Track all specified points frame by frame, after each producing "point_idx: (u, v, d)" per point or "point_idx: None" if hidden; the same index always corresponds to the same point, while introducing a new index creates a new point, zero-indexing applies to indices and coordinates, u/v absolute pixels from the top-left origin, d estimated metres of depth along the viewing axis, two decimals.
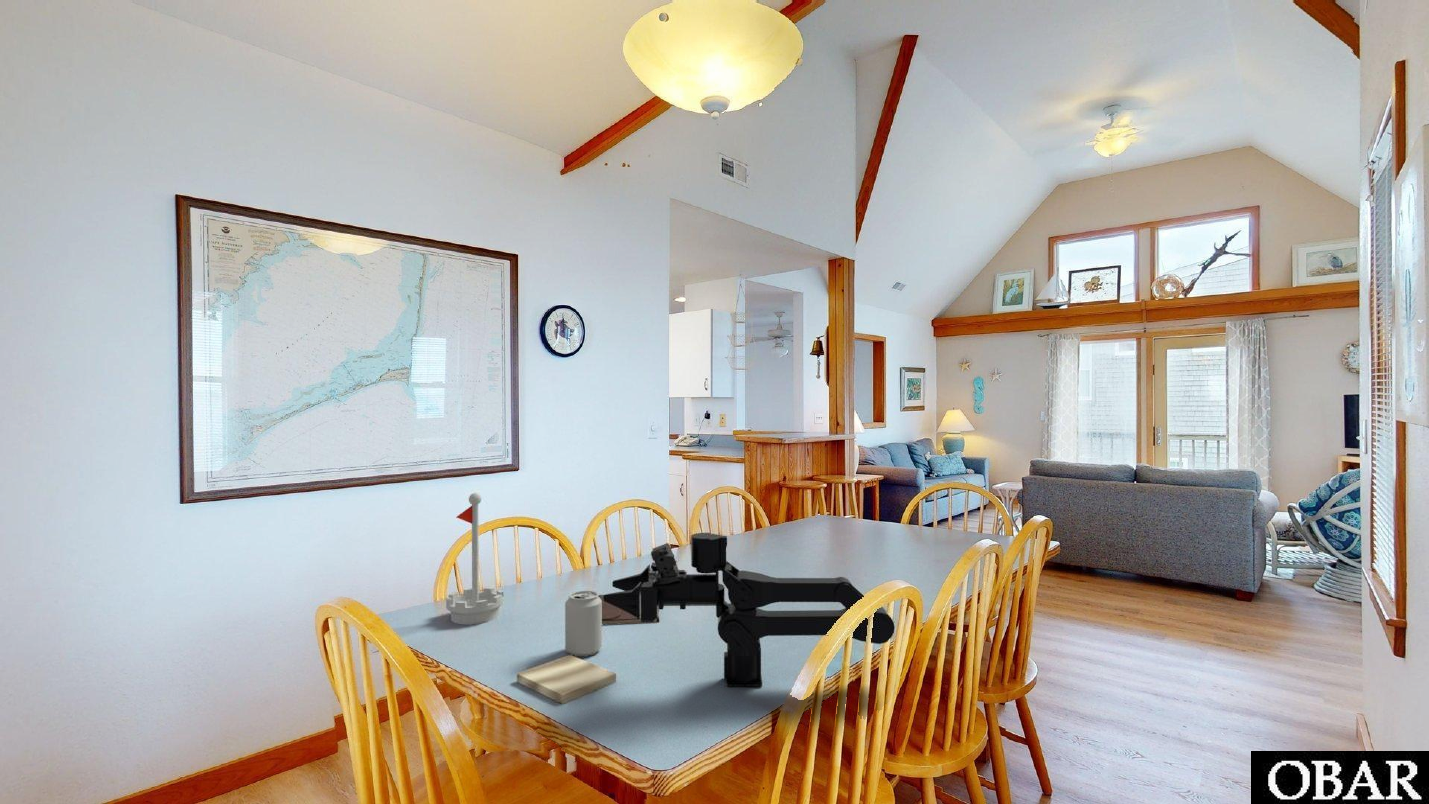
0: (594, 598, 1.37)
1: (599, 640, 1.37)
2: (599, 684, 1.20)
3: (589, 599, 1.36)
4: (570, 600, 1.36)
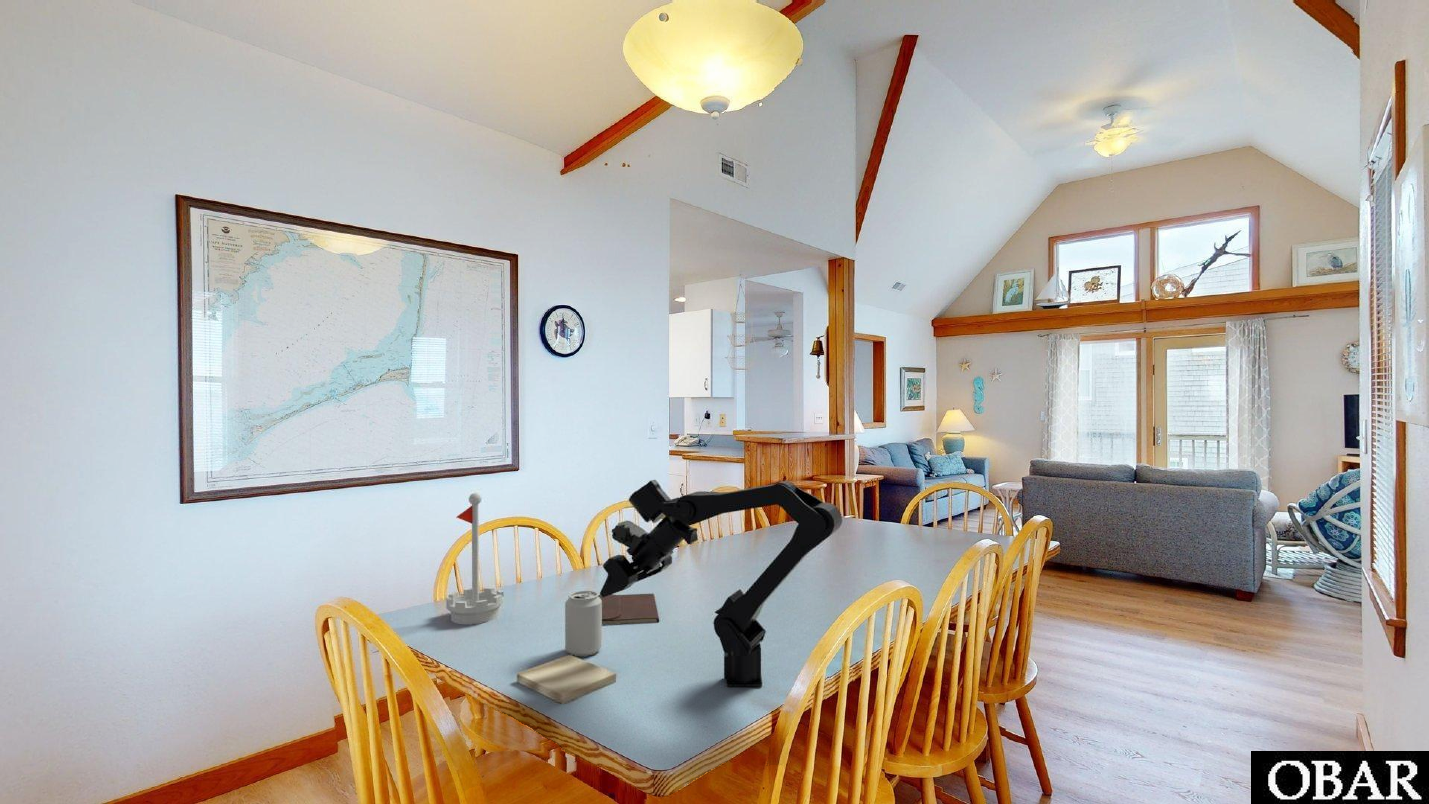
0: (594, 598, 1.37)
1: (599, 640, 1.37)
2: (599, 684, 1.20)
3: (589, 599, 1.36)
4: (570, 600, 1.36)
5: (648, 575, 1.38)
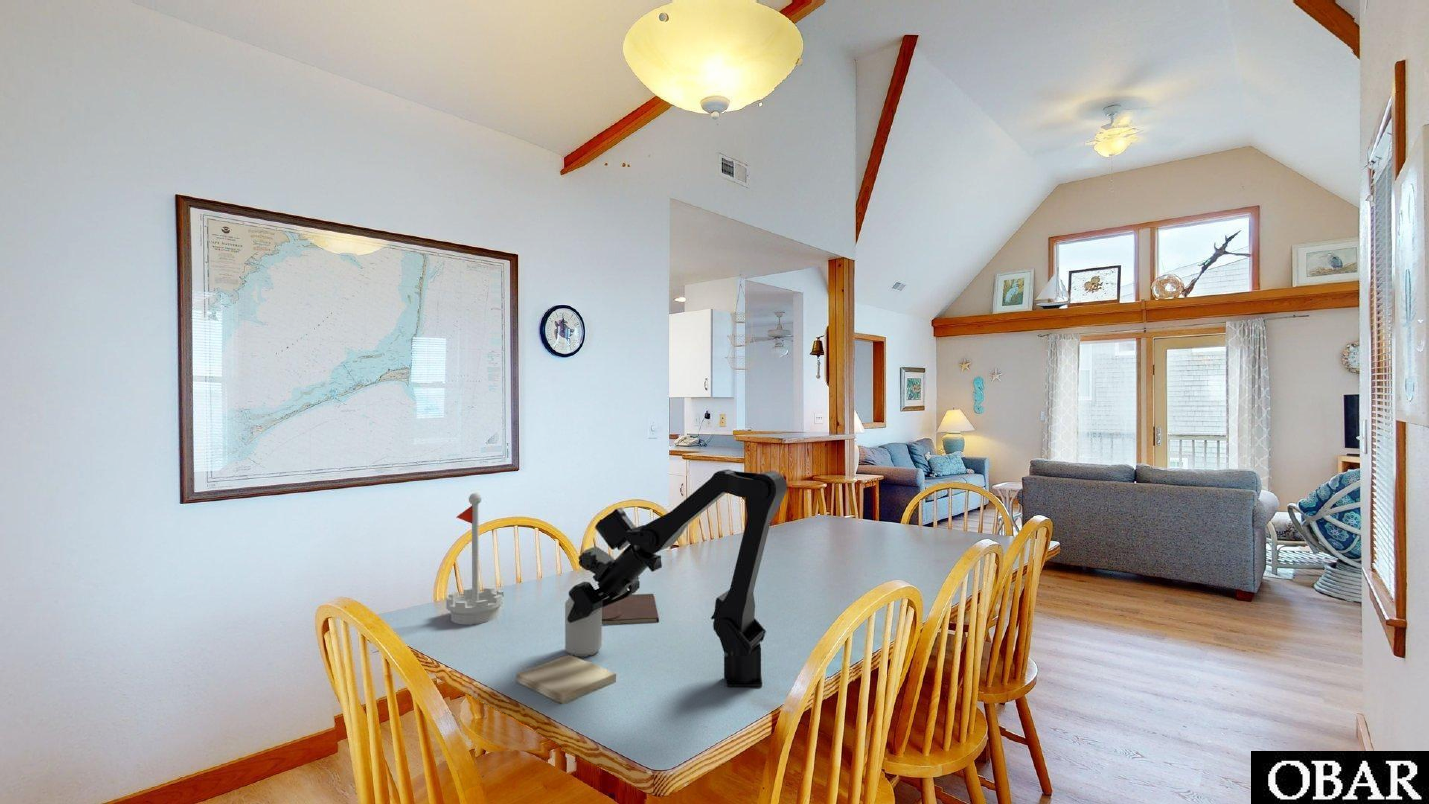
0: None
1: (599, 640, 1.37)
2: (599, 684, 1.20)
3: None
4: (570, 600, 1.36)
5: (616, 600, 1.41)
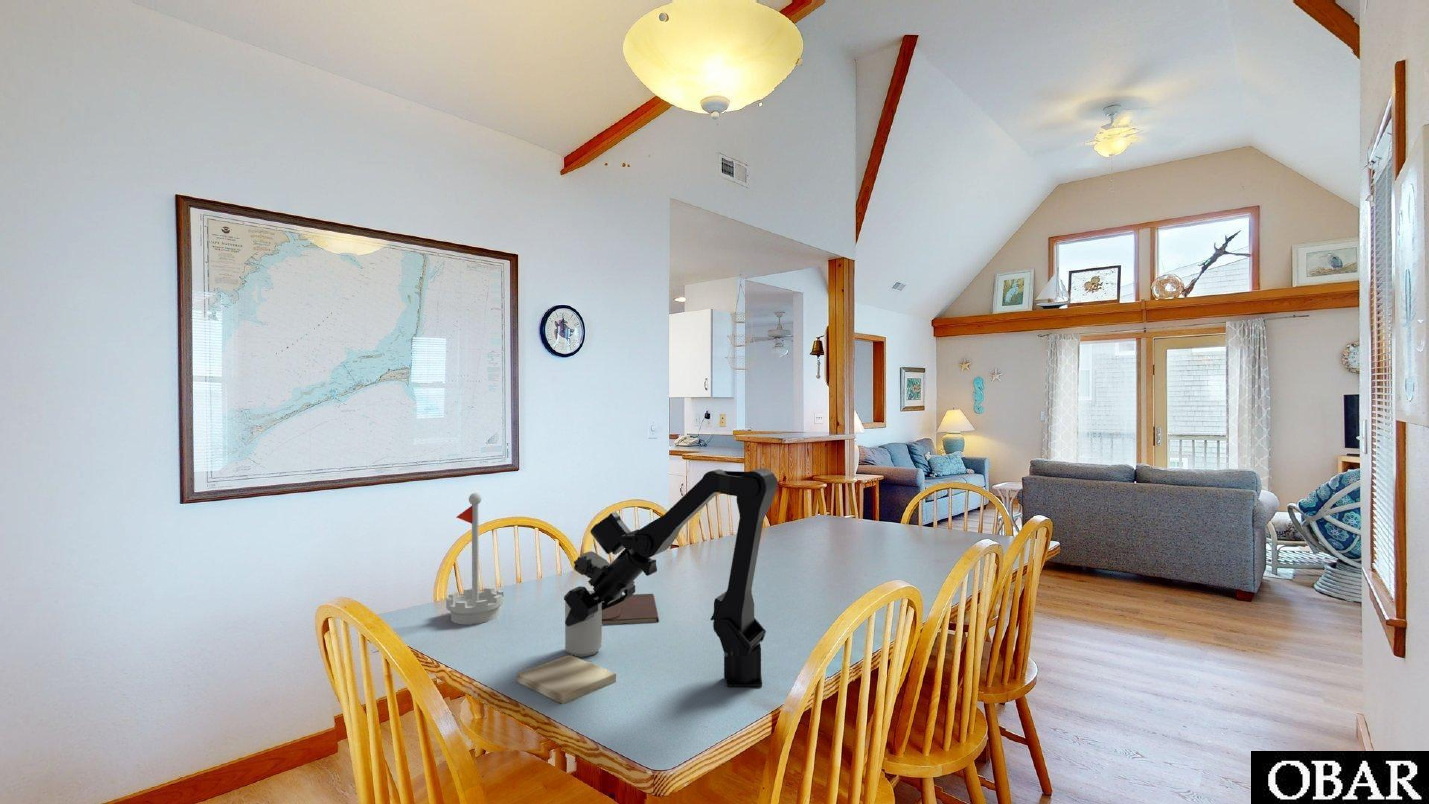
0: None
1: (599, 640, 1.37)
2: (599, 684, 1.20)
3: None
4: None
5: (610, 605, 1.41)
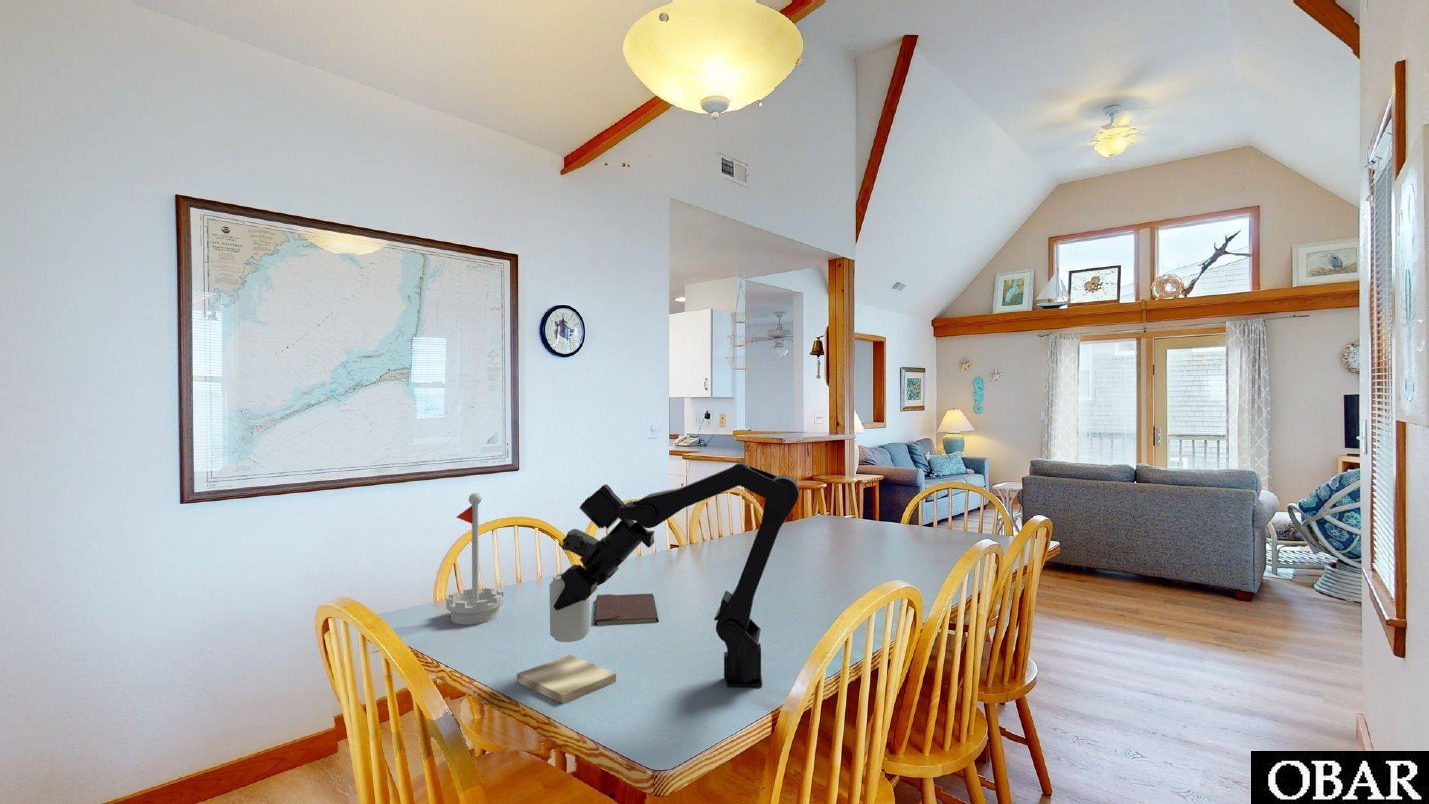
0: None
1: (588, 622, 1.28)
2: (599, 684, 1.20)
3: None
4: (557, 582, 1.26)
5: None
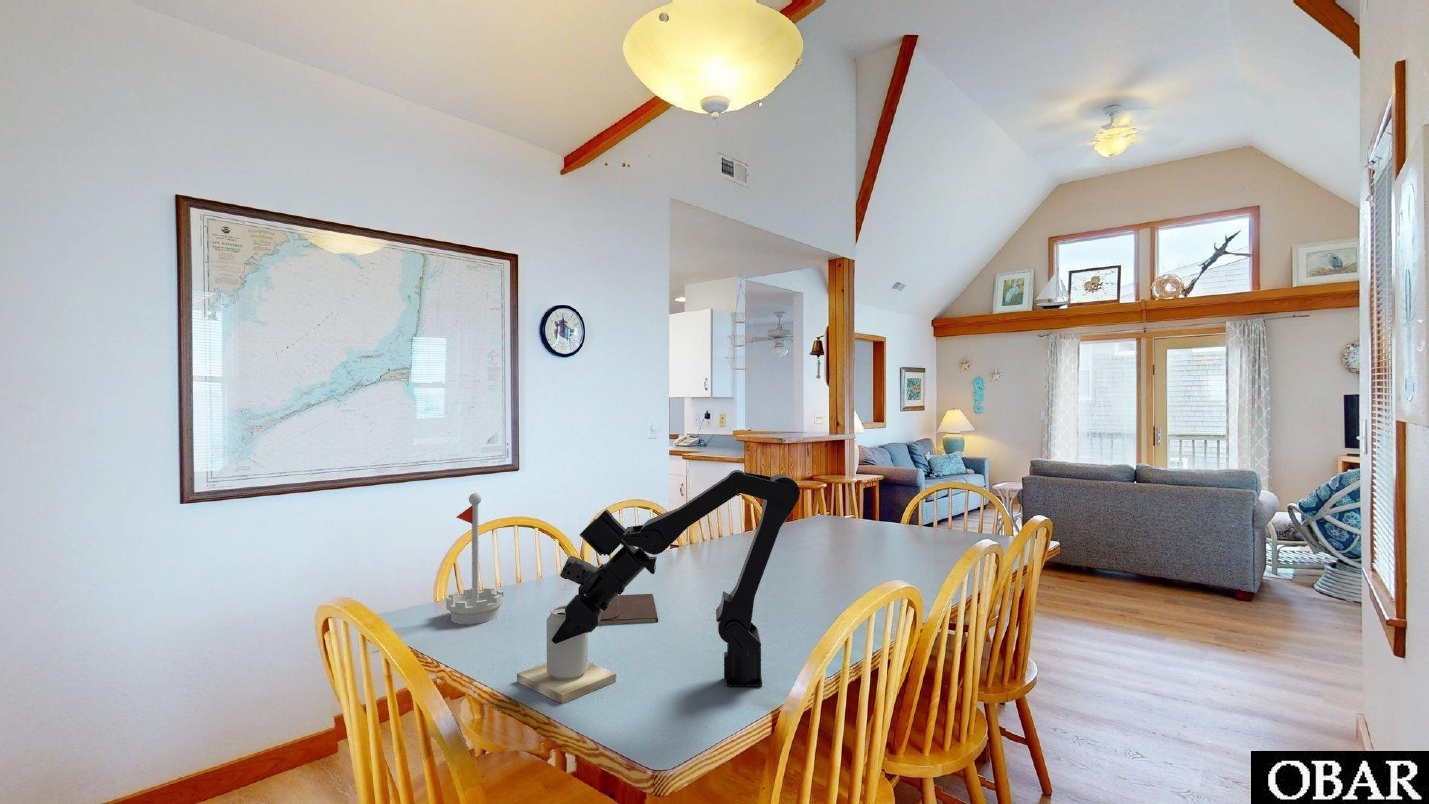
0: None
1: (587, 658, 1.24)
2: (599, 684, 1.20)
3: None
4: (556, 618, 1.21)
5: None
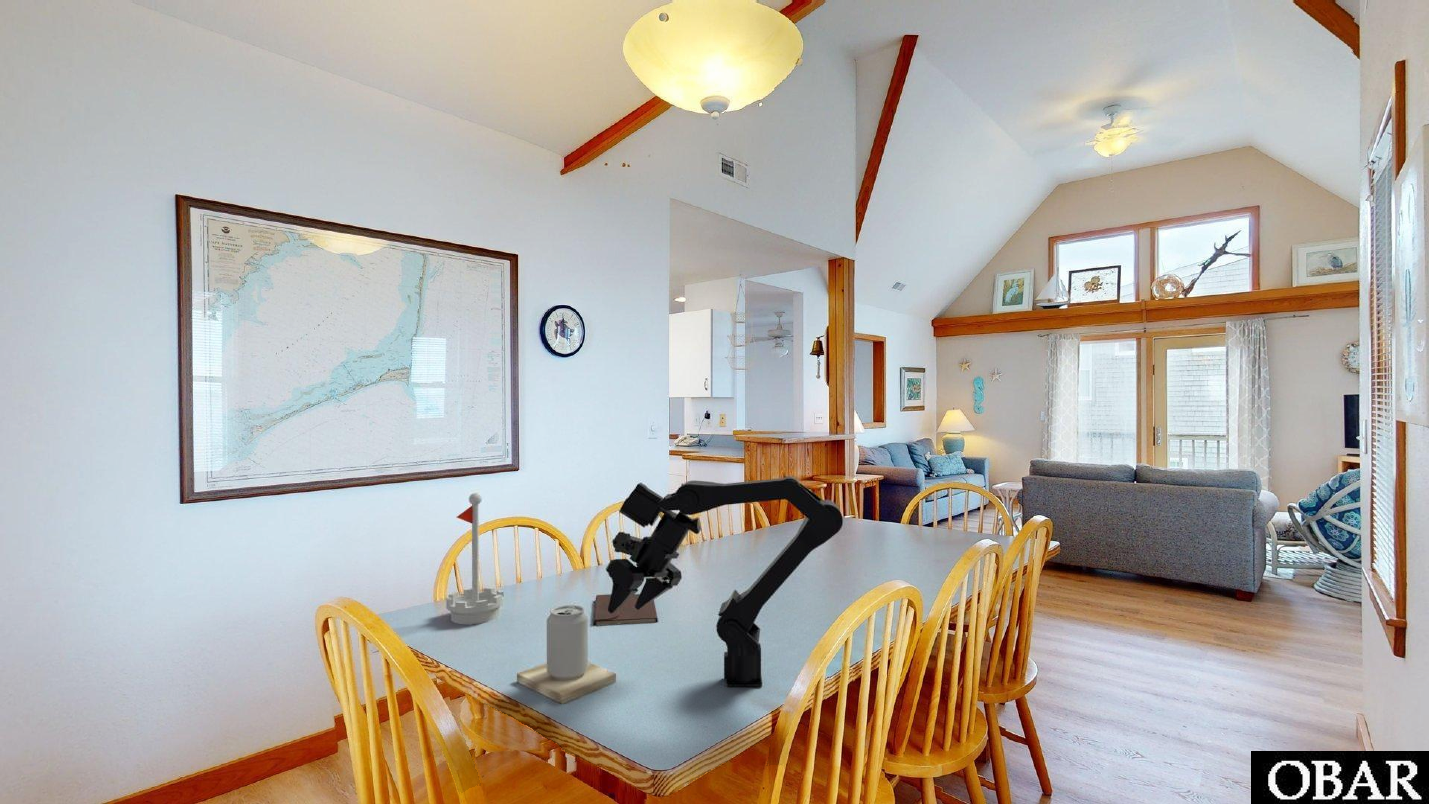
0: (583, 612, 1.23)
1: (587, 658, 1.24)
2: (599, 684, 1.20)
3: (579, 614, 1.22)
4: (556, 618, 1.21)
5: (658, 592, 1.29)
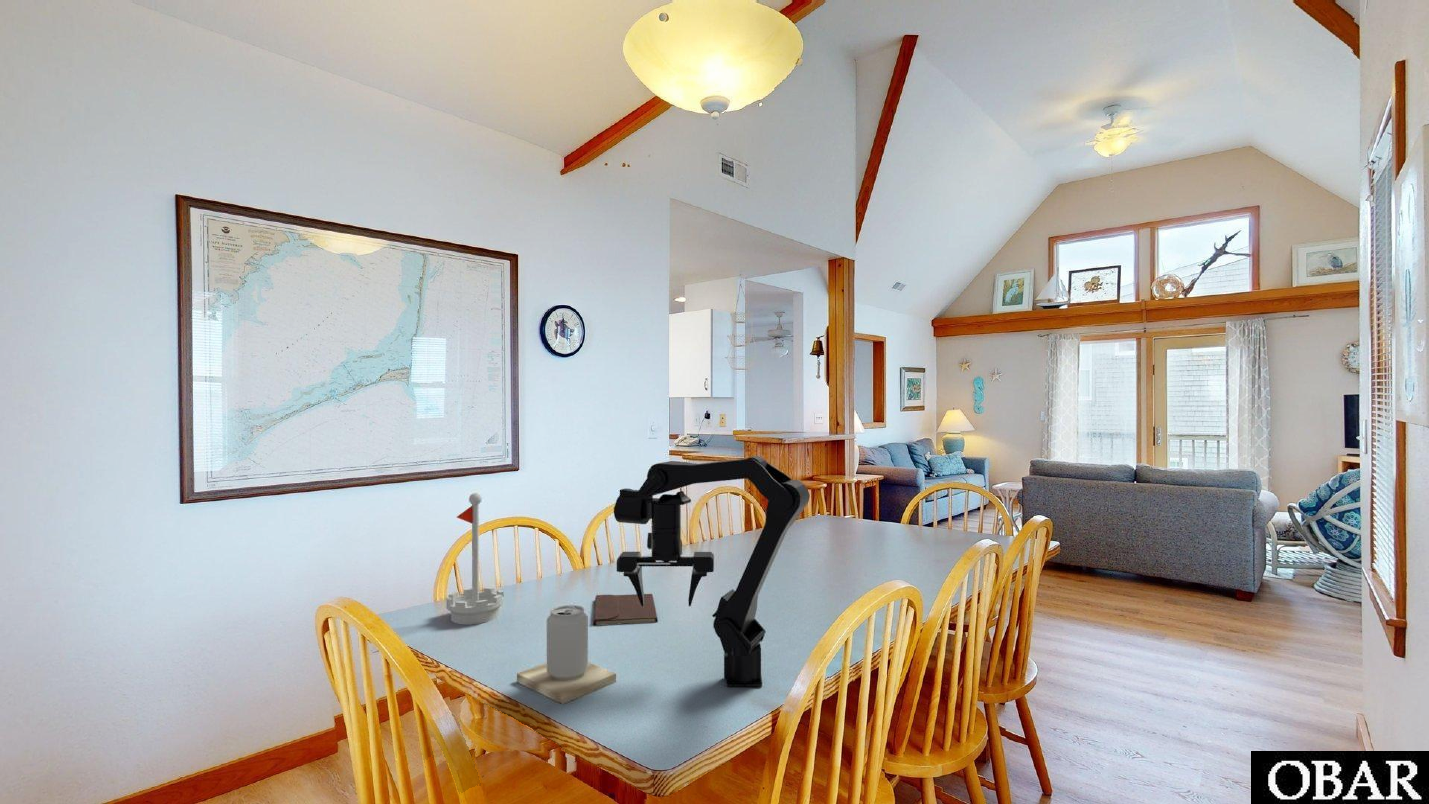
0: (583, 612, 1.23)
1: (587, 658, 1.24)
2: (599, 684, 1.20)
3: (579, 614, 1.22)
4: (556, 618, 1.21)
5: None
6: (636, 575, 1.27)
